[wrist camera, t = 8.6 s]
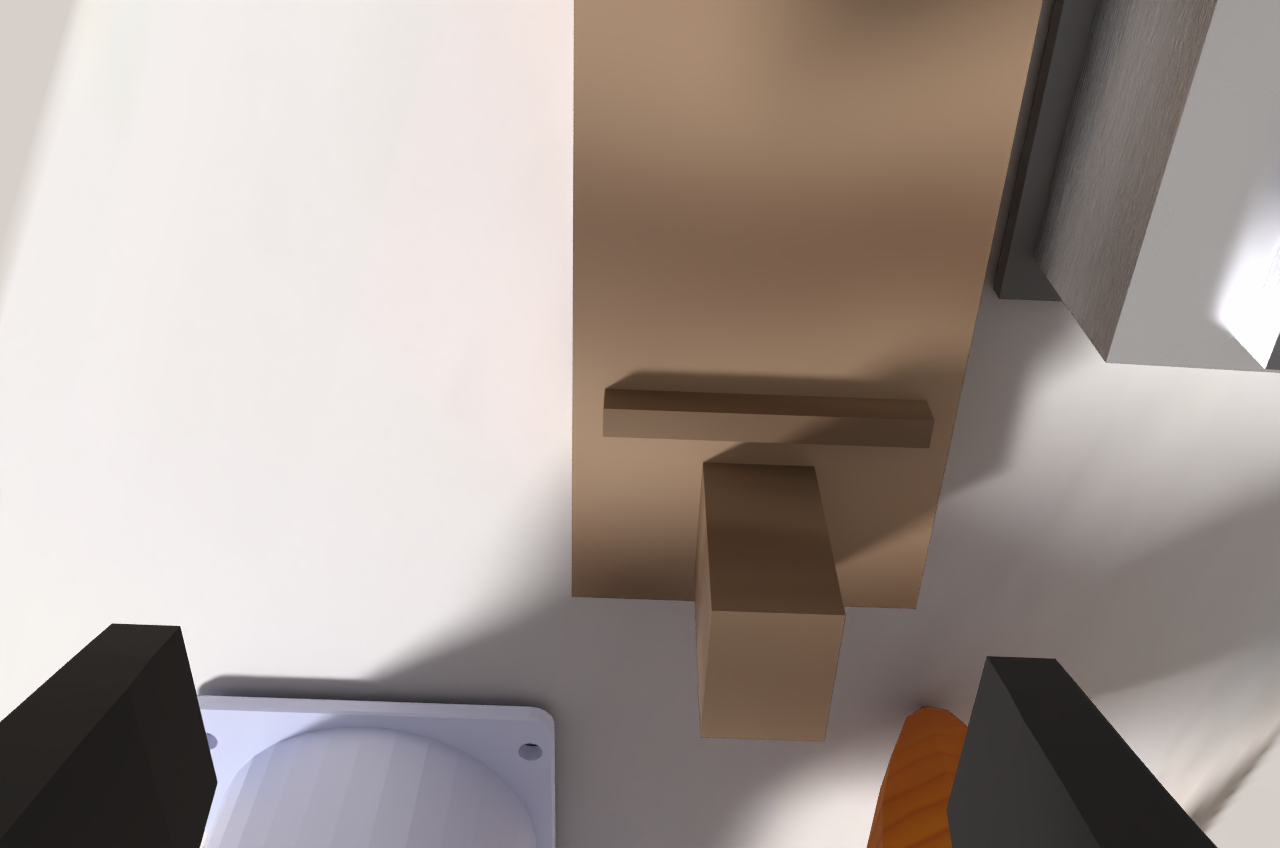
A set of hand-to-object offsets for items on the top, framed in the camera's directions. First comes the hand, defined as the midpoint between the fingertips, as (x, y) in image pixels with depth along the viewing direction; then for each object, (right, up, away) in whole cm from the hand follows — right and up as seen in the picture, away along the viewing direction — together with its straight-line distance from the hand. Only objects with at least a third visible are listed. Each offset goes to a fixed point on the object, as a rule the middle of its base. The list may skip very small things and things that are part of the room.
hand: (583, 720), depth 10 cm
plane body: (+3, +6, +8) cm, 11 cm away
